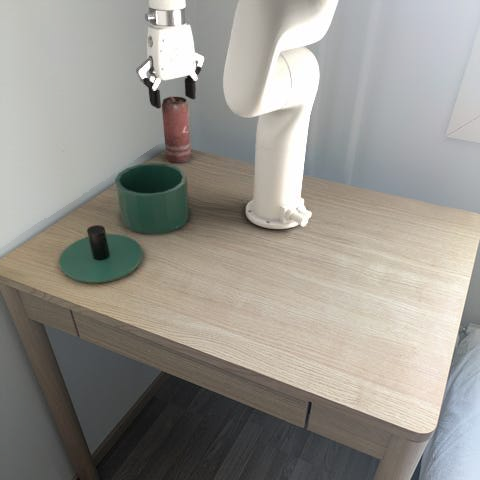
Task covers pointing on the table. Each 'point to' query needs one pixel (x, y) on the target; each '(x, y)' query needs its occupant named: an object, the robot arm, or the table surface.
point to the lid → (100, 256)
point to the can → (176, 129)
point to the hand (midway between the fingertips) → (173, 102)
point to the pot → (153, 198)
